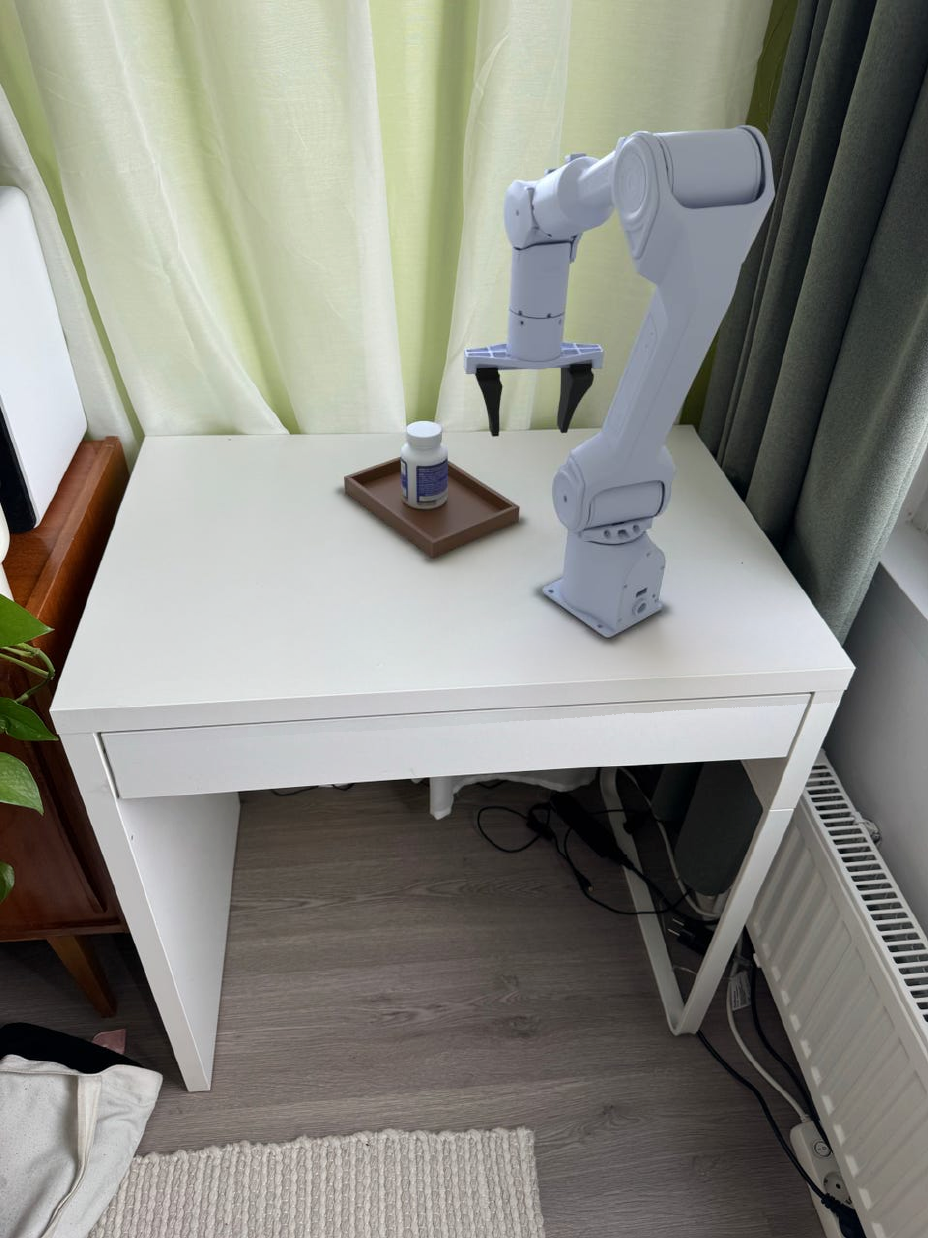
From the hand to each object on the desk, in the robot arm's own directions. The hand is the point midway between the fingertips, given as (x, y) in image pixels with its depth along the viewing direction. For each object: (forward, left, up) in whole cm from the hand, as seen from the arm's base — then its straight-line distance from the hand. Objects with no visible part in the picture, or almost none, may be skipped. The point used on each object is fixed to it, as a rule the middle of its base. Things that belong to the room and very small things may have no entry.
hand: (528, 430), depth 102 cm
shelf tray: (+6, +9, -9) cm, 14 cm away
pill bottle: (+7, +9, -9) cm, 15 cm away
